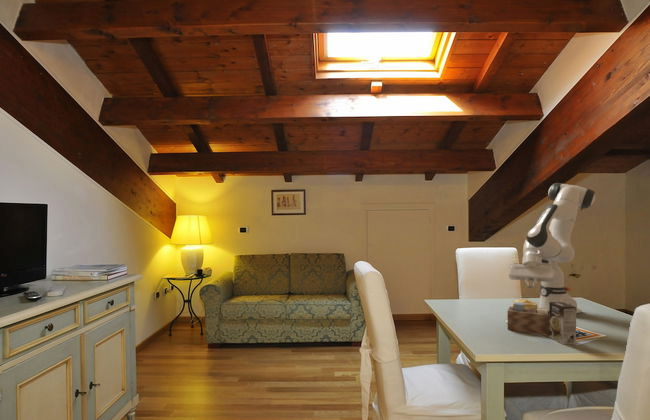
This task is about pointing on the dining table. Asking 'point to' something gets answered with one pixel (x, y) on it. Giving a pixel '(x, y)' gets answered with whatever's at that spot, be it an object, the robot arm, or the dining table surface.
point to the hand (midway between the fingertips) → (530, 286)
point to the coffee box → (562, 322)
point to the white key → (542, 310)
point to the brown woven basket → (528, 321)
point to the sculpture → (527, 303)
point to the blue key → (518, 306)
